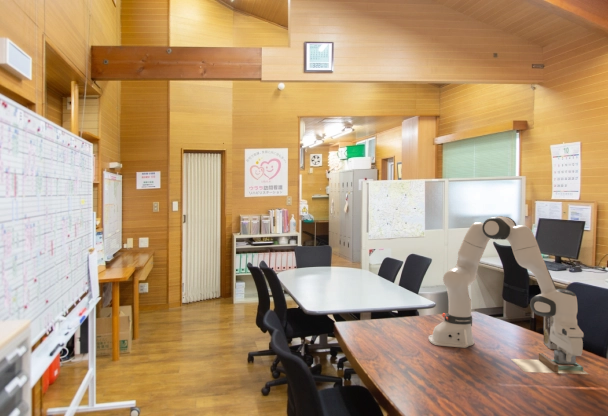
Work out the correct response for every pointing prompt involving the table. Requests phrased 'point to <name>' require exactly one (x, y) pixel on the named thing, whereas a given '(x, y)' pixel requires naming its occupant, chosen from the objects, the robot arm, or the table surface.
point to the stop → (563, 357)
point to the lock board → (548, 366)
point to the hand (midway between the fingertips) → (564, 358)
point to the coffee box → (548, 332)
